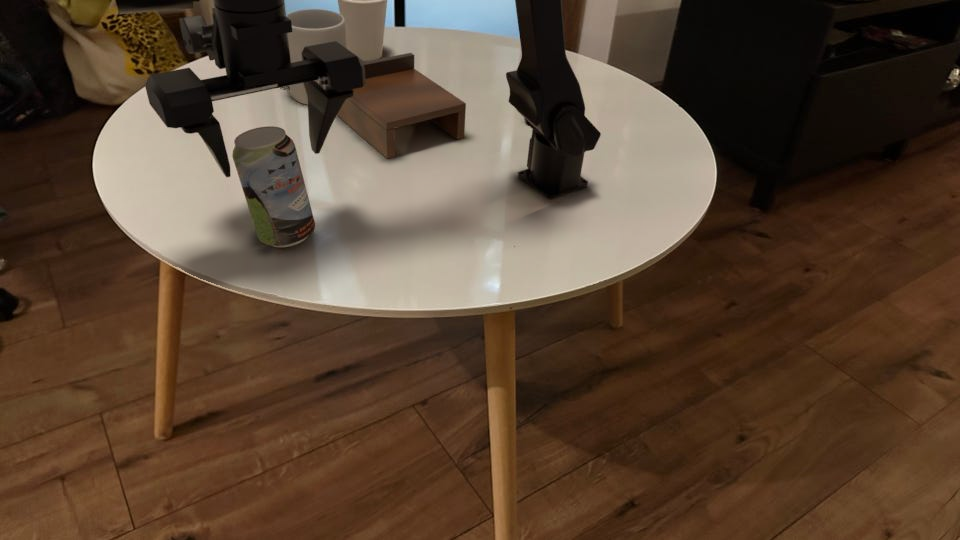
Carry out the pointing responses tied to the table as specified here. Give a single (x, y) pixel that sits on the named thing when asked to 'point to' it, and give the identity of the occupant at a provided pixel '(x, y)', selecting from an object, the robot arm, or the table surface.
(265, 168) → the beverage can
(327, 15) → the mug
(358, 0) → the dixie cup
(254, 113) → the table surface
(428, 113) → the wooden riser stand
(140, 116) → the table surface
